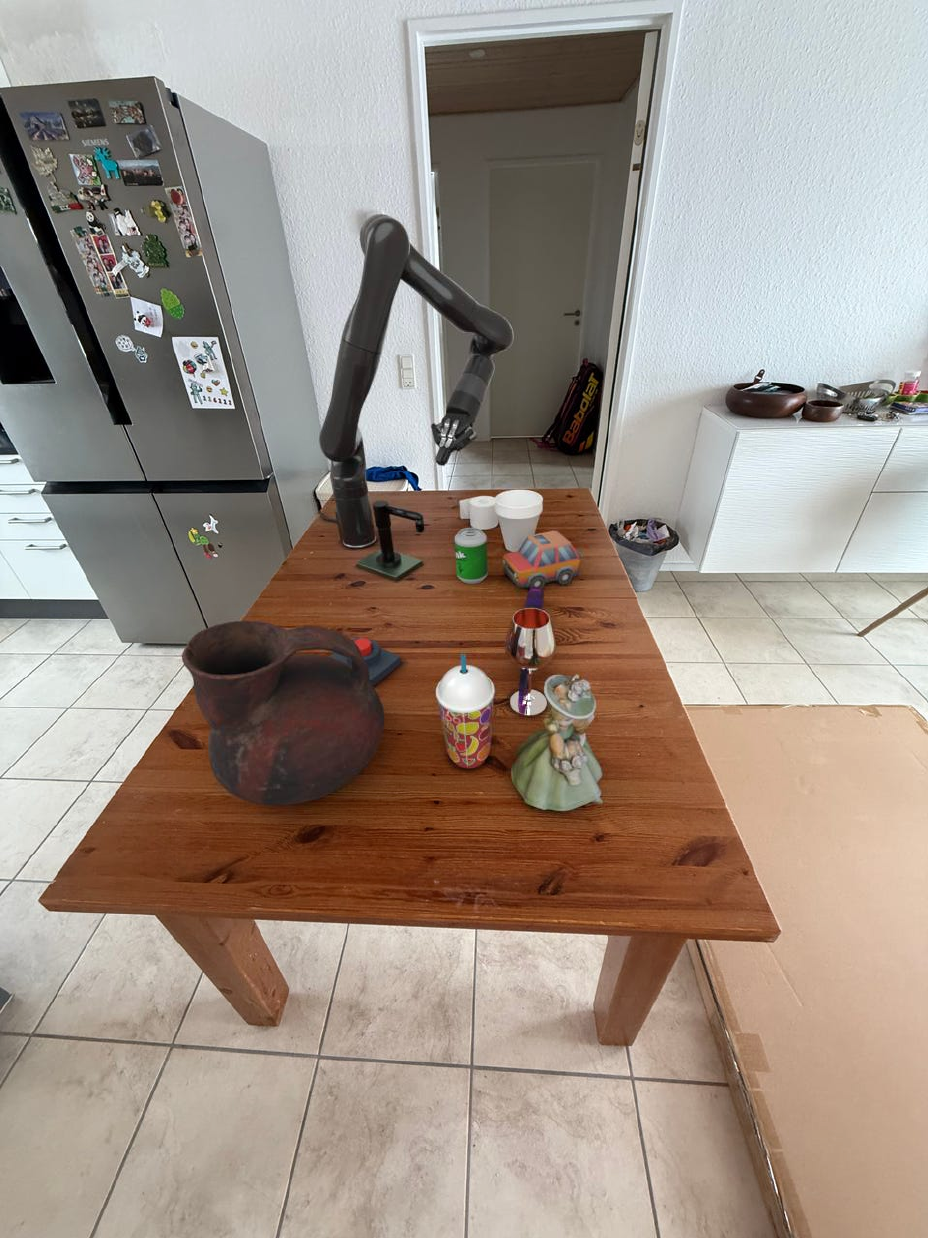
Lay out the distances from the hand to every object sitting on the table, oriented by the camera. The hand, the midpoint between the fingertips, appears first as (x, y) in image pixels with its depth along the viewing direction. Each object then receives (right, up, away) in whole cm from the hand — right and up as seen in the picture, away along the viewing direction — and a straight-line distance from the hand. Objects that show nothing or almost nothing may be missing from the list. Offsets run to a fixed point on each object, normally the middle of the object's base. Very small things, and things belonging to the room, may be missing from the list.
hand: (439, 463), depth 122 cm
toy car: (+24, -27, +2) cm, 37 cm away
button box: (-14, -46, -22) cm, 53 cm away
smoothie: (+7, -59, -42) cm, 72 cm away
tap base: (-13, -23, +10) cm, 29 cm away
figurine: (+19, -62, -47) cm, 80 cm away
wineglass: (+17, -52, -33) cm, 64 cm away
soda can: (+8, -27, +3) cm, 28 cm away
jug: (-18, -60, -41) cm, 75 cm away
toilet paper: (+10, -8, +30) cm, 33 cm away
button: (-14, -43, -24) cm, 51 cm away
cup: (+20, -18, +16) cm, 31 cm away
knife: (+18, -44, -22) cm, 53 cm away
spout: (-10, -16, +1) cm, 18 cm away
